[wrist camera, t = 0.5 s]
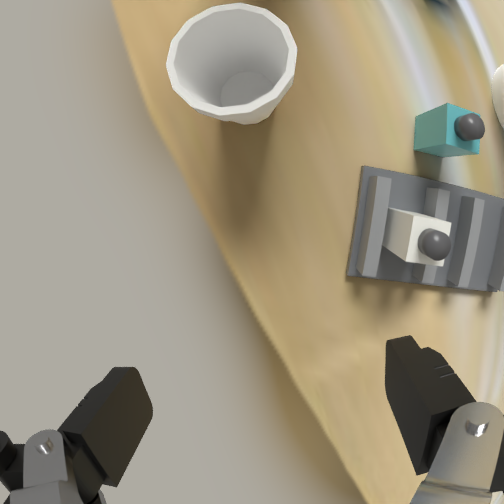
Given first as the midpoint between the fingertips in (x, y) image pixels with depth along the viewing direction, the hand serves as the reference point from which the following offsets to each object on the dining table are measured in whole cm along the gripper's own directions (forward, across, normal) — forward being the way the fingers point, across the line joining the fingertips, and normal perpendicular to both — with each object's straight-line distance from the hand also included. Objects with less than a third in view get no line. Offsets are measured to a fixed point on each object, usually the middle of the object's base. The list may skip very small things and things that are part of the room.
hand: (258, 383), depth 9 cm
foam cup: (+27, 0, -15) cm, 31 cm away
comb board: (+27, -19, +3) cm, 33 cm away
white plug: (+26, -14, +1) cm, 29 cm away
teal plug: (+27, -20, -8) cm, 34 cm away
